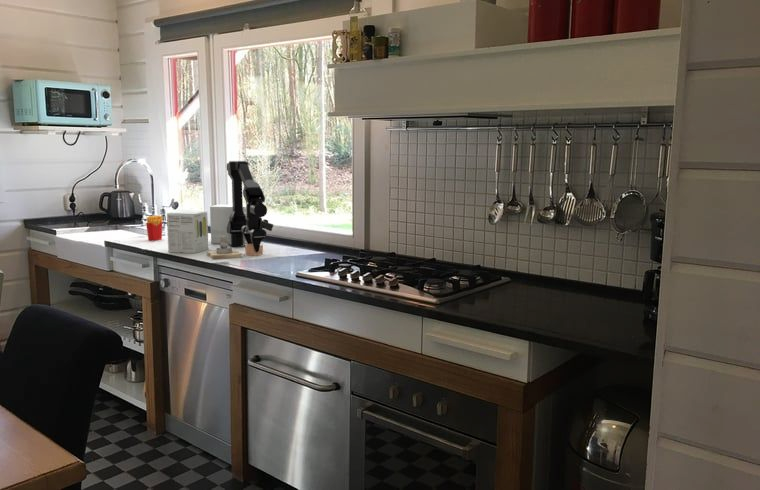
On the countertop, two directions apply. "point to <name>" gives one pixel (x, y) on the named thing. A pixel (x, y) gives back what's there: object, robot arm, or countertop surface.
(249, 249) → the ring
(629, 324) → the countertop surface
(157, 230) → the french fries
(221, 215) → the supplement box
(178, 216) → the supplement box
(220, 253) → the post stand
